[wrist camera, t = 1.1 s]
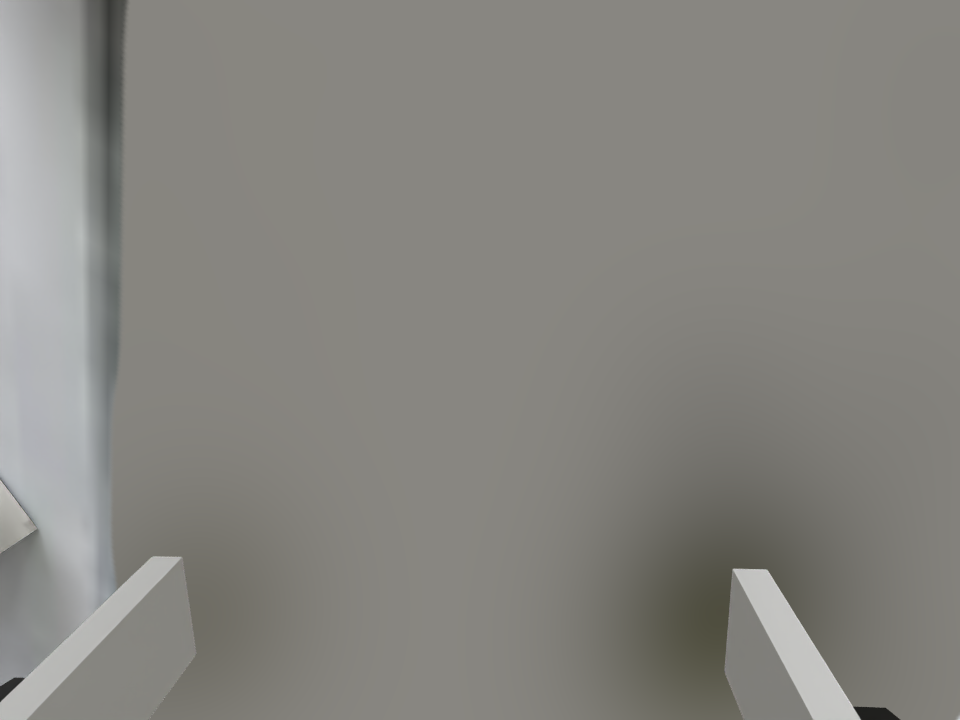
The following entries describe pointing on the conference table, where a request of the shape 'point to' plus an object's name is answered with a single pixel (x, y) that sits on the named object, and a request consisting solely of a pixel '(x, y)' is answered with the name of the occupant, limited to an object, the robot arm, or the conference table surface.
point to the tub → (12, 520)
